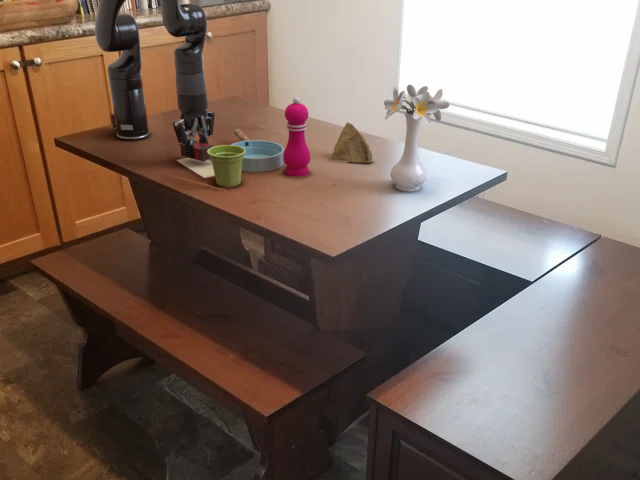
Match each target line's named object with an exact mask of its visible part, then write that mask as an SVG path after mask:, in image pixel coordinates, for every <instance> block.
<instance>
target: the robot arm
mask: <svg viewBox="0 0 640 480" xmlns="http://www.w3.org/2000/svg"><path fill="white" fill-rule="evenodd" d="M125 2H127V0H99V2H98V7H97V12H96V17H95V22H94V36H95V40H96V43H97V46H98V48H99V49H100V50H101V51H103V52H106V53H116V52H117V53H118V52H121V53H120V55H119V57H118V58H117V59H116V60H114V61H112V62H111V63H110V64H108V65H107V68H106V69H107V71H106V72H107V78H108V83H109V89H110V96H111V103H112V109H113V113H109V117H110V123H111V125H112V128H113V129H115V130H116V137H117V138H118V139H119V140H123V141H138V140H145V139H146V138H149V137H150V130H149V123H148V114H147V107H146V106H147V105H146V99H145V90H144V83H143V75H142V65H143V64H142V63H143V62H142V52H141V51H142V50H141V37H140V31H139V30H140V29H139V27H138V23H137V21H136V19H135V17H134V16H133V15H132V14H130V13H120V11H121V9H122V8H123V7H122V6H123V5H124V4H125ZM160 6H161V19H162V23H163V26H164V28H165V30H166V31H167V32H168V34H169V35H170V36H172V37H173V38H183V37H185V38H184V41H183V43H182V44H181V45H178V46H177V47H176V48H175V49H174V52H173V59H174V67H175V69H174V70H175V87H176V88H175V89H176V98H177V108H178V109H179V111H180V118H179V120H178V121H173V122H172V127H173V130H174V134H175V135H176V139H177V142H178V143H179V144H182V143H183V144H185V150H186V156H187V157H186V158H191V159H193V158H195V155H194V145H193V141H194V138H195V136H196V133H197V135H198V142H202V143H205V144H209V141H208V139H209V138H210V136H213V135H214V126H215V117H216V114H215V112H213V111H208V110H207V109H208V107H209V105H208V93H207V82H206V75H205V70H204V69H205V68H204V58H203V57H204V56H203V55H204V50H205V44H206V43H205V42H206V36H207V32H208V31H207V30H208V20H207V14H206V12H205V10H204V8H203V7H202V6H201V5H200V4H199V3H195V2H190V3H189V2H188V3H181V4H180V0H160Z"/></svg>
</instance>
